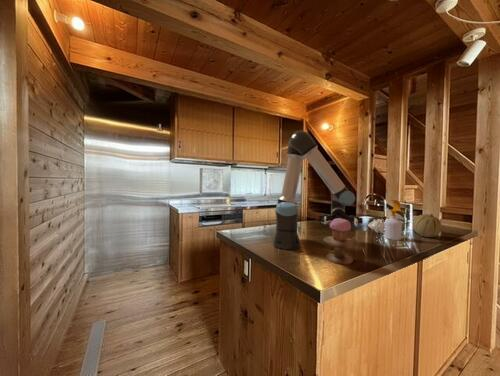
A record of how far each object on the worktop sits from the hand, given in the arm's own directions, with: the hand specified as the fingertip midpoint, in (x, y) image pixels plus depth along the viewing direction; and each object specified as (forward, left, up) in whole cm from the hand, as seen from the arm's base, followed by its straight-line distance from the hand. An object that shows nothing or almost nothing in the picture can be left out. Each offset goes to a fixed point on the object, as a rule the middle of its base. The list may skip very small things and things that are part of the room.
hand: (340, 222), depth 100 cm
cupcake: (-1, -3, -8) cm, 8 cm away
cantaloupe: (+73, +38, -17) cm, 84 cm away
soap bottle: (+49, +34, -17) cm, 62 cm away
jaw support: (+51, +52, -17) cm, 75 cm away
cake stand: (-1, -3, -17) cm, 17 cm away
